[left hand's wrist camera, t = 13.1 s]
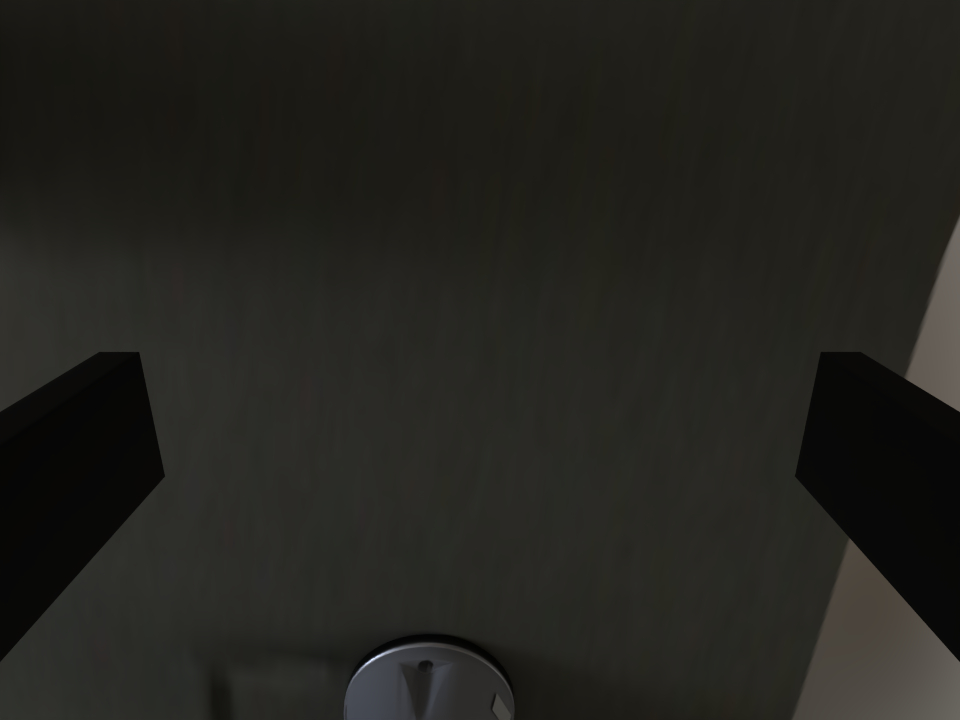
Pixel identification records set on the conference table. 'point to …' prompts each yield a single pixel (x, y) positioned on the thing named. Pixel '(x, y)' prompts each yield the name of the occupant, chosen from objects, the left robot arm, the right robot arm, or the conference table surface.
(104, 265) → the conference table surface
